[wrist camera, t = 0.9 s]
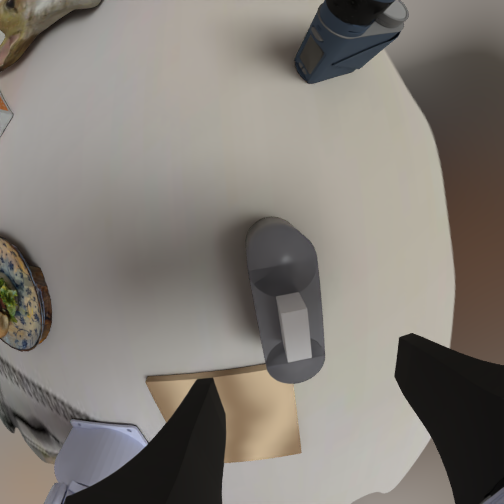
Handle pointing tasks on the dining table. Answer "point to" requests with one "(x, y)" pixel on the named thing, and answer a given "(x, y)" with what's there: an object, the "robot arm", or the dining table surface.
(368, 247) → the dining table surface
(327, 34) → the vaping device
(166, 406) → the oak board
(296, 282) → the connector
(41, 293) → the burger
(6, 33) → the ceramic sculpture
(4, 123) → the skincare box
